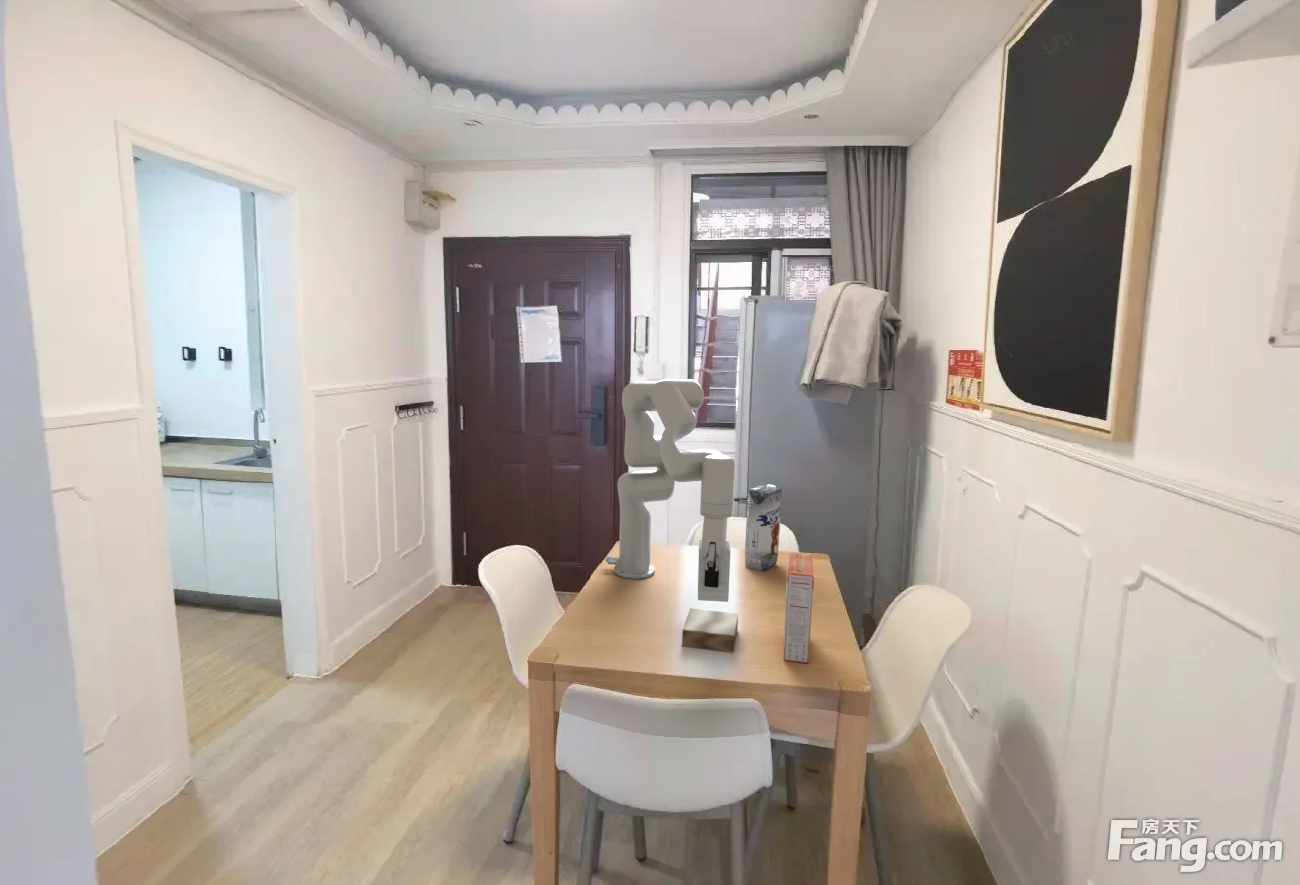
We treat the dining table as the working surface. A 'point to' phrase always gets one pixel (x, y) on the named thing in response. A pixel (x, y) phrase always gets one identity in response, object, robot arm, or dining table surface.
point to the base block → (710, 630)
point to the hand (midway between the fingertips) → (713, 579)
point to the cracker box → (798, 608)
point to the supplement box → (724, 569)
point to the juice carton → (762, 527)
